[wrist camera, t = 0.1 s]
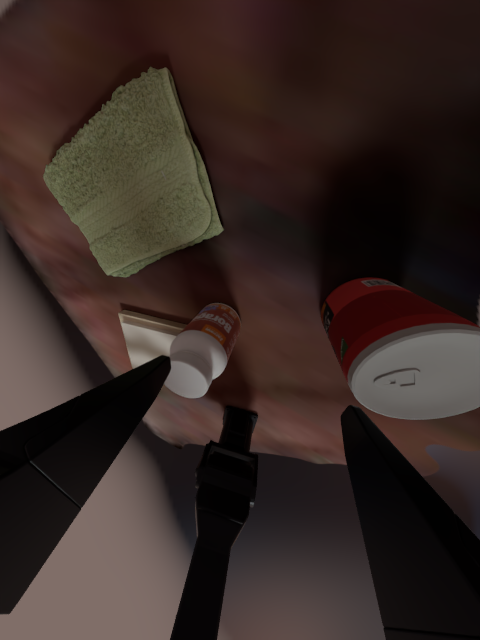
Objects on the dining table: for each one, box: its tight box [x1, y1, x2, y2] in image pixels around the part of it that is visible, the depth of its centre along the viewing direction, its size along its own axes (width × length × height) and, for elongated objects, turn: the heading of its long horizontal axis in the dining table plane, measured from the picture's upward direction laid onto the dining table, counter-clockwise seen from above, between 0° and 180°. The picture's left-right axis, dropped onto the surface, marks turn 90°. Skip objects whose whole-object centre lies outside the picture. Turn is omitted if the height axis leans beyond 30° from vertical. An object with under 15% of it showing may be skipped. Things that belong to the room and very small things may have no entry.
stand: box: [118, 310, 187, 369], centre depth 29 cm, size 12×12×2 cm
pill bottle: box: [164, 303, 241, 398], centre depth 20 cm, size 6×6×11 cm
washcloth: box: [43, 67, 224, 277], centre depth 18 cm, size 13×18×3 cm
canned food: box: [321, 277, 480, 420], centre depth 15 cm, size 8×8×11 cm
